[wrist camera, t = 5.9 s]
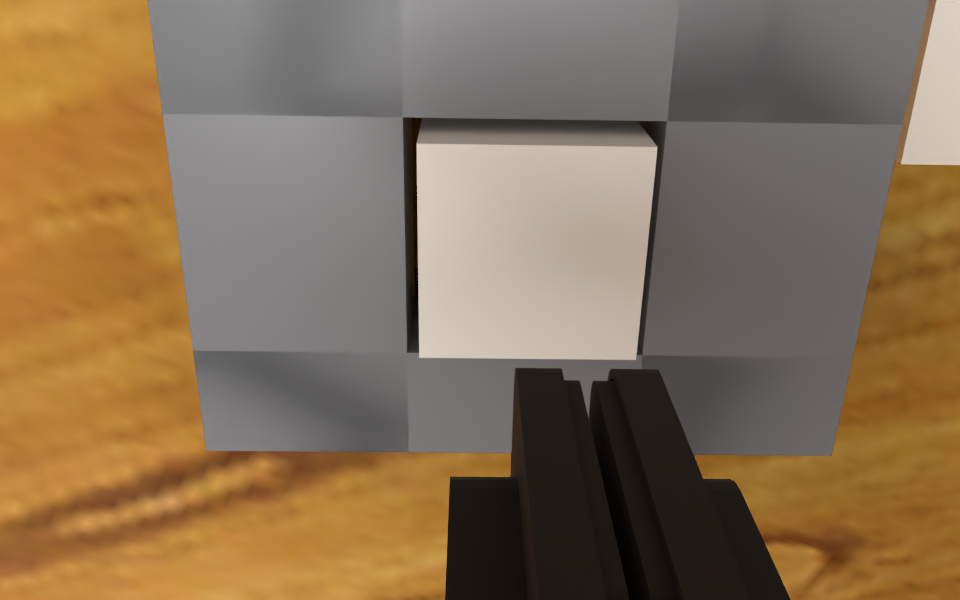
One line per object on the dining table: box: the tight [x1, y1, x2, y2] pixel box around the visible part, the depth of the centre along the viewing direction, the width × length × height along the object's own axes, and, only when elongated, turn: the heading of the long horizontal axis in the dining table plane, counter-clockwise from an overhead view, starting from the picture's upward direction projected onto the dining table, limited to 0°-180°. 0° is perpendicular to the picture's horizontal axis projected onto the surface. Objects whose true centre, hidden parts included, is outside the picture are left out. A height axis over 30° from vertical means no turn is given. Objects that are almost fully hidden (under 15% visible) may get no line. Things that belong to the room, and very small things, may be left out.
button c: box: [417, 118, 658, 360], centre depth 19 cm, size 4×4×4 cm
